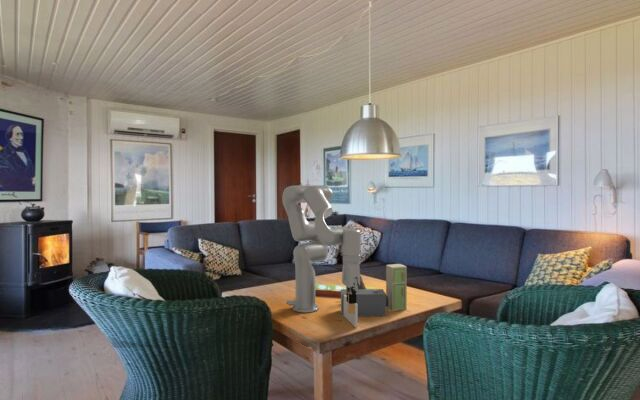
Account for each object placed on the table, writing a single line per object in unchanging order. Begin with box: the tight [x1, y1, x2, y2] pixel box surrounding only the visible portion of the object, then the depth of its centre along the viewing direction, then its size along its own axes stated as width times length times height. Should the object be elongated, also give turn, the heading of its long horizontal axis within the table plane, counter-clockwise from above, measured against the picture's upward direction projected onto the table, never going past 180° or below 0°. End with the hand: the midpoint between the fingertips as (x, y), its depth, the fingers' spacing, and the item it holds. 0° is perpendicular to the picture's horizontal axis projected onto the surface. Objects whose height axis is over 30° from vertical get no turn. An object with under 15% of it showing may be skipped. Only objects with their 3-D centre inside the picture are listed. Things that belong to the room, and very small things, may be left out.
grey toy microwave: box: [340, 288, 389, 317], centre depth 187 cm, size 22×9×11 cm, turn 91°
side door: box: [342, 291, 359, 328], centre depth 174 cm, size 15×3×14 cm, turn 16°
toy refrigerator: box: [385, 263, 408, 312], centre depth 193 cm, size 8×7×21 cm
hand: (351, 302), depth 168 cm, fingers closed on side door, 2 cm apart
